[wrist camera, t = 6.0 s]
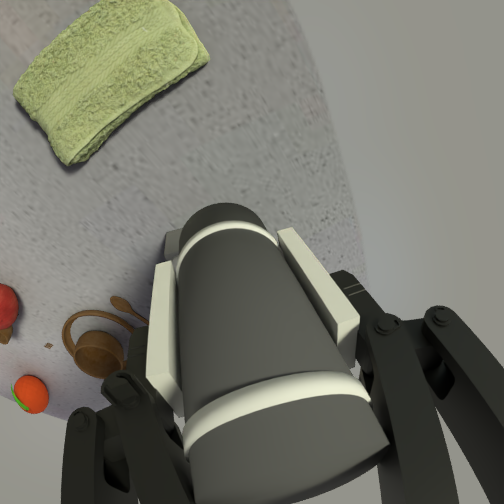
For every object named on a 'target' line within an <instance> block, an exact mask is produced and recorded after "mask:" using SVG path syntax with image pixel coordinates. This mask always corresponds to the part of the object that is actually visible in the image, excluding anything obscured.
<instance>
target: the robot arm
mask: <svg viewBox="0 0 504 504" xmlns="http://www.w3.org/2000/svg"><path fill="white" fill-rule="evenodd" d="M277 235H278V241H279V246H280V248H281V250H282V251H283V254H284V257H285V260H286V262H287V264H288V265H289V267H290V269H291V270H292V272H293V274H294V275H295V277H296V279H297V280H298V282H299V284H300V285H301V287H302V289H303V290H304V292H305V294H306V295H307V297H308V299H309V300H310V302H311V304H312V305H313V307H314V309H315V311H316V312H317V314H318V316H319V317H320V319H321V321H322V322H323V324H324V326H325V328H326V329H327V331H328V333H329V334H330V336H331V338H332V340H333V341H334V343H335V345H336V347H337V348H338V350H339V352H340V354H341V355H342V357H343V359H344V361H345V362H346V364H347V366H348V368H349V369H351V368H353V367H355V360H356V359H357V361H358V363H359V364H360V366H361V369H360V375H359V381H360V382H361V383H362V385H363V386H364V388H365V390H366V392H367V393H368V395H369V397H370V399H371V400H372V402H373V412H374V414H375V416H376V418H377V420H378V421H379V423H380V425H381V427H382V429H383V431H384V432H385V434H386V436H387V438H388V440H389V442H390V443H391V447H390V448H389V450H388V451H387V453H386V454H385V456H384V457H383V458H382V460H381V461H380V463H378V464H377V468H378V474H379V483H380V489H381V499H382V504H459V500H458V494H457V489H456V484H455V479H454V474H453V470H452V466H451V461H450V458H449V453H448V449H447V446H446V442H445V438H444V434H443V431H442V428H441V424H440V421H439V418H438V415H437V411H436V408H437V410H438V412H439V413H440V415H441V416H442V418H443V420H444V421H445V423H446V425H447V426H448V428H449V429H450V431H451V433H452V434H453V436H454V438H455V440H456V441H457V443H458V445H459V446H460V448H461V450H462V452H463V453H464V455H465V457H466V459H467V460H468V462H469V464H470V466H471V467H472V469H473V471H474V473H475V475H476V477H477V479H478V480H479V482H480V484H481V486H482V488H483V490H484V492H485V494H486V496H487V498H488V500H489V502H490V504H504V368H503V367H502V366H501V364H500V363H499V362H498V361H497V359H496V358H495V357H494V356H493V355H492V353H491V352H490V351H489V350H488V349H487V348H486V346H485V345H484V344H483V343H482V342H481V341H480V340H479V338H478V337H477V336H476V335H475V334H474V333H473V332H472V331H471V329H470V328H469V327H468V326H467V325H466V324H465V323H464V322H463V321H462V319H461V318H460V317H459V316H458V315H457V314H456V313H455V312H454V311H453V310H451V309H450V308H448V307H445V306H434V307H431V308H429V309H428V310H427V311H426V313H425V316H424V318H421V319H414V320H407V321H402V320H401V319H400V318H398V317H396V316H395V315H392V314H388V313H385V312H384V311H383V310H382V309H381V307H380V306H379V305H378V304H377V303H376V301H375V300H374V299H373V298H372V297H371V295H370V294H369V293H368V292H367V291H366V290H365V288H364V287H363V286H362V285H361V284H360V282H359V281H358V280H357V279H356V278H355V277H354V275H352V274H350V273H348V272H346V271H344V270H341V271H338V272H334V273H331V274H328V273H327V271H326V270H325V269H324V267H323V266H322V265H321V263H320V262H319V261H318V260H317V258H316V257H315V256H314V254H313V253H312V252H311V251H310V249H309V248H308V247H307V245H306V244H305V243H304V242H303V240H302V239H301V238H300V237H299V235H298V234H297V233H296V232H295V230H294V229H293V228H292V227H291V228H287V229H283V230H279V231H277ZM101 394H102V395H103V396H104V397H105V398H106V399H107V400H108V401H109V402H110V403H111V404H112V405H111V406H109V407H107V408H104V409H102V410H100V411H98V412H94V411H93V410H92V409H90V408H89V407H81V408H78V409H76V410H75V411H74V412H73V413H72V414H71V415H70V417H69V419H68V423H67V428H66V436H65V444H64V454H63V466H62V484H61V504H138V499H139V501H140V504H196V503H195V497H194V491H193V484H192V477H191V470H190V464H189V463H188V462H187V460H186V459H185V455H184V446H183V437H182V434H181V432H180V429H179V427H178V426H177V424H176V423H175V422H174V414H173V411H174V412H175V414H176V415H177V416H178V417H184V406H183V393H182V379H181V361H180V339H179V290H178V286H177V282H176V272H175V270H174V267H173V265H172V262H171V260H170V261H167V262H163V263H160V264H156V268H155V276H154V284H153V292H152V301H151V311H150V321H149V325H148V326H144V327H140V328H136V329H135V330H134V332H133V334H132V335H131V337H130V341H129V350H128V358H127V364H126V370H123V369H122V370H118V371H115V372H113V373H111V374H110V375H109V376H108V377H107V378H106V379H105V380H104V382H103V384H102V386H101ZM435 407H436V408H435Z"/></svg>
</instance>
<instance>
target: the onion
mask: <svg viewBox="0 0 504 504" xmlns="http://www.w3.org/2000/svg"><path fill="white" fill-rule="evenodd" d="M18 310H19V306H18V300H17V297H16V295H15V293H14V292H13V290H12V289H11V288H10V287H9V286H7V285H4V284H1V283H0V330H2V329H7V328H9V327H10V326H11V325H12V324H13V323H14V322H15V320H16V318H17V315H18Z"/></svg>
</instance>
